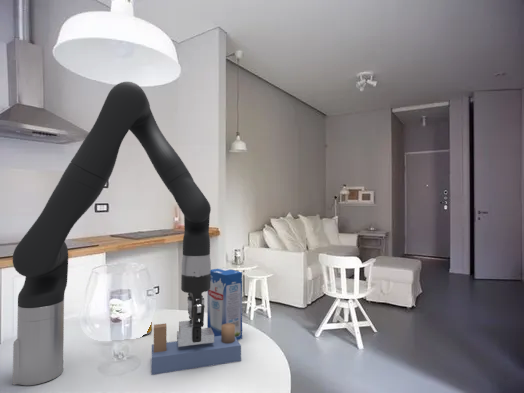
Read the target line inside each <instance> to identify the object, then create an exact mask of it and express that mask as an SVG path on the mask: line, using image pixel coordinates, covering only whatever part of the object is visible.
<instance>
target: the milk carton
mask: <svg viewBox="0 0 524 393" xmlns="http://www.w3.org/2000/svg"><path fill="white" fill-rule="evenodd" d="M206 295H207V300H206V301H207V309H206V310H207V314H206V315H207V327H206V328H211V329H212V331H213V333H214V336H221V326H222V325H223V324H226V323H232V324H234V325H235V337H236V338H237V340H238V341H239V340H242V339H243V272H242V271H238V270H234V269H231V268H226V267H222V268H221V267H220V268H214V269H211V282H210V289H209V290H208V291H207V294H206Z"/></svg>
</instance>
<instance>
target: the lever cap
mask: <svg viewBox="0 0 524 393" xmlns="http://www.w3.org/2000/svg"><path fill="white" fill-rule="evenodd" d="M190 320H191V319H190ZM190 320H182V321H179V322H178V331H176V341H177V343H178V347H181V346H189V345H197V344H205V343H213V342H214V333H213V331H212V329H211V328H207V327H205V328H201V341H200V342H195V343H194V342H193V341H192V320H191V321H190ZM196 322H200V320H199V319H198V320H196Z"/></svg>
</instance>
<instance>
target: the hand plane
mask: <svg viewBox="0 0 524 393" xmlns="http://www.w3.org/2000/svg"><path fill="white" fill-rule="evenodd" d="M241 361H242V345H241V344H240V342H239V340H237V338H236V337H235V325H234V324H232V323H226V324H223V325H222V326H221V336H214V342H213V343H205V344H197V345H189V346H181V347H178V343H177V340H175V341H169V342H167V323H165V322H164V323H160V324H159V323H158V324H153V344H151V371H150V372H151V375H152V376H154V375H161V374H165V373H166V374H167V373H172V372H180V371H184V370H185V371H186V370H192V369H198V368H203V367H204V368H205V367H211V366H217V365H224V364H230V363H237V362H241Z"/></svg>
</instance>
